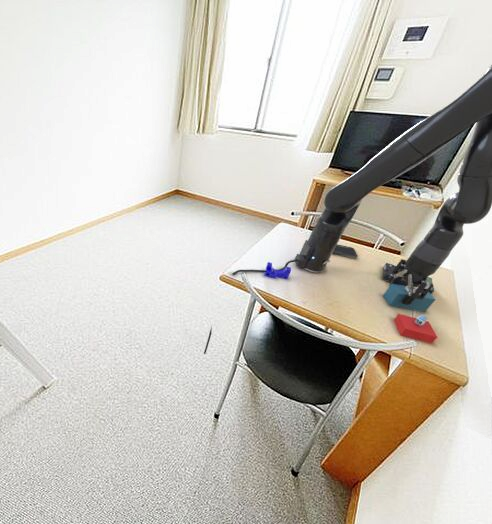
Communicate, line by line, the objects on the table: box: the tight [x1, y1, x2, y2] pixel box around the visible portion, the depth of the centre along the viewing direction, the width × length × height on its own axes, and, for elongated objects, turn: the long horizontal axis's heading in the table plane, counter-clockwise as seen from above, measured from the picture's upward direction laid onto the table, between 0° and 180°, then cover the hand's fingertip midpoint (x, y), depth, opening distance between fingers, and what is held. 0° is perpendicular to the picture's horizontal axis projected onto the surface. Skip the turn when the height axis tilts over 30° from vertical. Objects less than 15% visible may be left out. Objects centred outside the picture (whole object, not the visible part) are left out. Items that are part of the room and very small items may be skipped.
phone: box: [332, 243, 358, 260], centre depth 129 cm, size 8×1×15 cm
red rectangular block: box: [393, 313, 438, 344], centre depth 90 cm, size 8×7×6 cm
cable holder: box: [263, 261, 292, 280], centre depth 109 cm, size 8×4×4 cm, turn 70°
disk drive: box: [381, 262, 435, 295], centre depth 113 cm, size 10×3×15 cm
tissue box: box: [382, 284, 437, 313], centre depth 101 cm, size 5×11×7 cm, turn 79°
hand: (398, 295), depth 102 cm, fingers open, 8 cm apart
